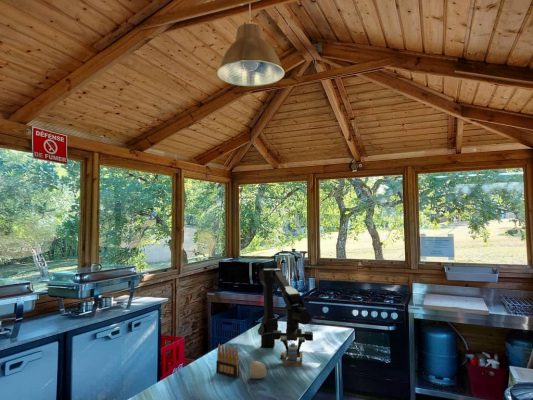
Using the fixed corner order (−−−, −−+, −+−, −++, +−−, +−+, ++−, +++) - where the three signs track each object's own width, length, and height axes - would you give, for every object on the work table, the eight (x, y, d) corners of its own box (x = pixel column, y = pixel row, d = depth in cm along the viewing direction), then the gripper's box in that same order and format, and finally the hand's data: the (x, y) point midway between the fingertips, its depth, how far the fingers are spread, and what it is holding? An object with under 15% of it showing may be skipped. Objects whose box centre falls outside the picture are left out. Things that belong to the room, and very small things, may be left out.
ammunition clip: (239, 376, 151) (239, 346, 152) (236, 378, 149) (236, 347, 150) (218, 371, 156) (218, 342, 158) (215, 373, 155) (216, 343, 156)
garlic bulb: (255, 374, 154) (255, 354, 155) (268, 377, 151) (268, 356, 151) (246, 379, 148) (246, 358, 149) (260, 382, 145) (260, 361, 146)
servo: (287, 360, 166) (287, 347, 167) (289, 353, 175) (288, 341, 176) (296, 360, 166) (296, 348, 166) (297, 354, 175) (297, 342, 175)
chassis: (279, 365, 164) (279, 361, 164) (281, 354, 178) (281, 350, 179) (301, 366, 163) (301, 361, 163) (302, 355, 177) (302, 351, 177)
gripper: (270, 323, 165) (270, 359, 164) (312, 324, 163) (313, 361, 162) (273, 317, 176) (273, 351, 175) (312, 319, 174) (313, 353, 173)
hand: (292, 354), depth 171 cm, fingers closed on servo, 4 cm apart
